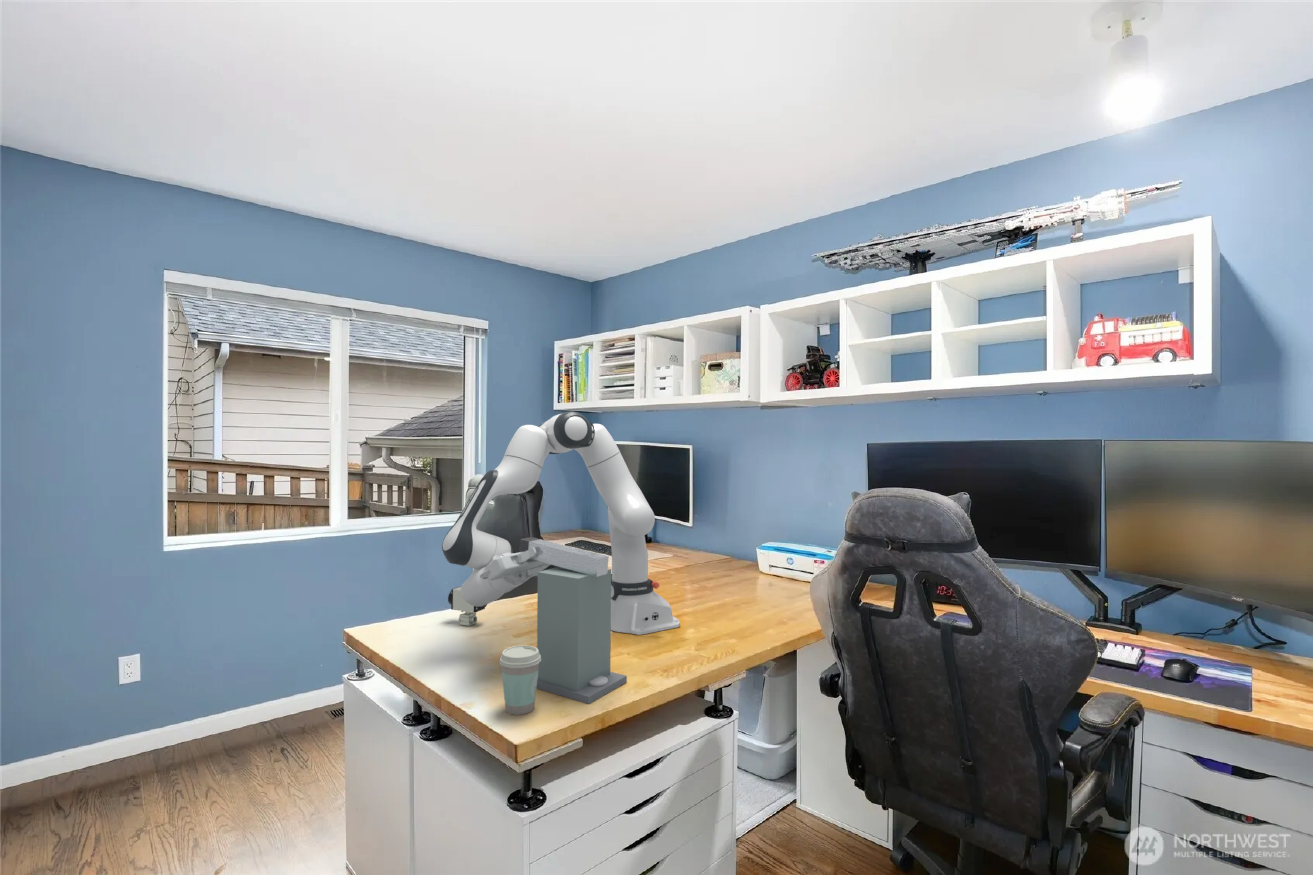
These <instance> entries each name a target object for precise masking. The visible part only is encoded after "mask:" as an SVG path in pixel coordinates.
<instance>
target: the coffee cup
mask: <svg viewBox="0 0 1313 875" xmlns="http://www.w3.org/2000/svg"><path fill="white" fill-rule="evenodd" d="M540 661H541V655H540V654H539V650H538V648H537V646H531V645H525V644H524V645H514V646H510V647H507V648H505V649H504V650H503V651H502V652H501V655H500V658H499V662H498V663H499V665H500V668H501V677H502V679H501V680H502V686H503V698H504V707H505V712H507V714H509V715H515V716H516V715H517V716H522V715H525V714H529V713H532V711H534V709H535V704H536V696H537V680H538V671H539V662H540Z"/></svg>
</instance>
